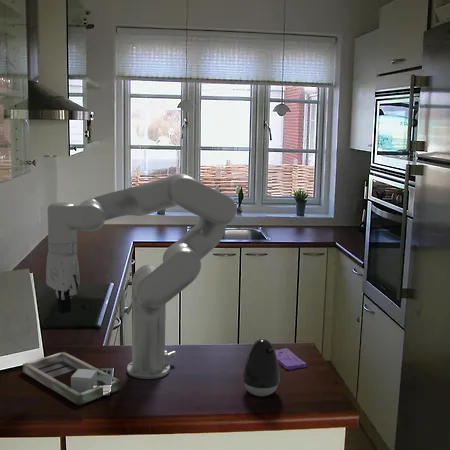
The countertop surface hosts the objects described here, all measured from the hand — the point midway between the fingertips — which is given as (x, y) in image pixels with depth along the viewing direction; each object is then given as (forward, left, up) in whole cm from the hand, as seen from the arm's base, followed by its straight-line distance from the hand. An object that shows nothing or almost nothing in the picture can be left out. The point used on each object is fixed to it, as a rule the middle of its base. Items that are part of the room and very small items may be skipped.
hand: (64, 311), depth 161 cm
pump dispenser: (-33, +45, -19) cm, 59 cm away
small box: (+1, +11, -20) cm, 22 cm away
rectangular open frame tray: (0, +3, -19) cm, 19 cm away
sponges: (-56, +37, -20) cm, 70 cm away
